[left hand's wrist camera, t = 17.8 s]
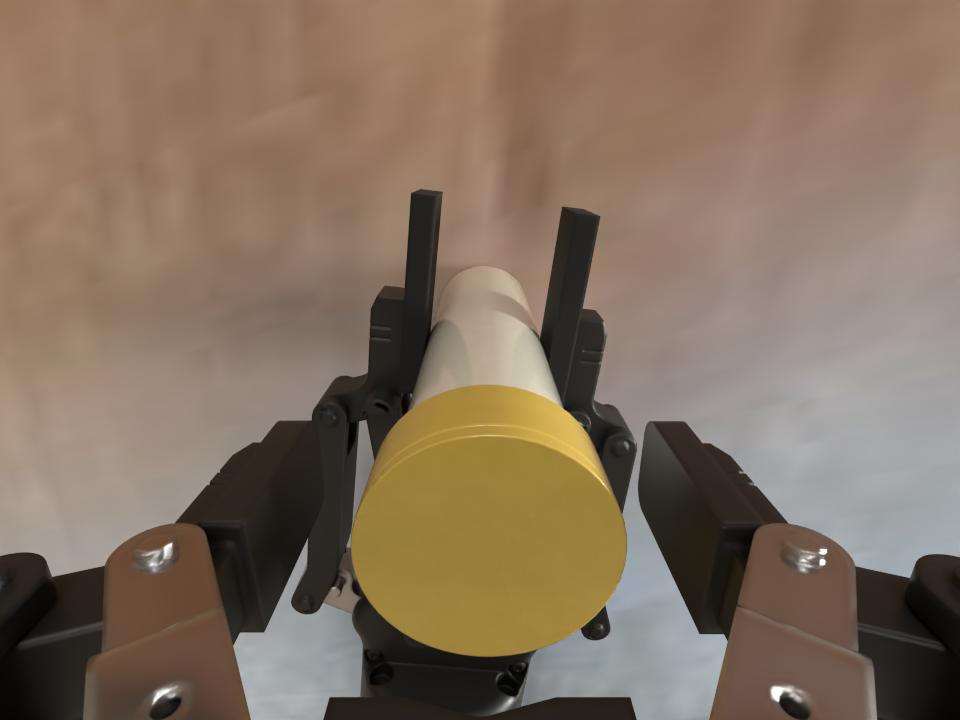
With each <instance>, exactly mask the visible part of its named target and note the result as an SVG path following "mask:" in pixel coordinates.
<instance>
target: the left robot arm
mask: <svg viewBox="0 0 960 720" xmlns="http://www.w3.org/2000/svg"><path fill="white" fill-rule="evenodd" d="M638 495H639V502H640V506H641V509H642V512H643V514H644V516H645V518H646V520H647V523H648V525H649V527H650V529H651V531H652V533H653V535H654V538H655V540H656V542H657V544H658V546H659V548H660V550H661V552H662V555H663V557H664V559H665V561H666V563H667V565H668V567H669V570H670V572H671V574H672V576H673V578H674V580H675V582H676V584H677V587H678V589H679V591H680V593H681V595H682V597H683V599H684V602H685V604H686V606H687V608H688V610H689V612H690V614H691V617H692V619H693V621H694V623H695V625H696V627H697V629H698V631H699V634H724V635H725V637H726V639H727V641H728V644H727V648H726V652H725V656H724V660H723V665H722V669H721V673H720V677H719V681H718V686H717V690H716V694H715V698H714V702H713V706H712V711H711V715H710V719H709V720H960V557H956V556H950V555H942V554H932V555H926V556H923V557H921V558H919V559H918V560H917V562H916V564H915V567H914V569H913V572H912V575H911V577H910V578H907V577H902V576H897V575H893V574H888V573H883V572H878V571H874V570H869V569H864V568H860V567H856V566H855V564H854V562H853V560H852V558H851V557H850V555H849V554H848V553H847V552H846V551H845V550H844V549H843V548H842V547H841V546H840V545H838V544H837V543H836V542H834V541H833V540H831V539H830V538H828V537H826V536H824V535H822V534H820V533H818V532H816V531H814V530H811V529H808V528H805V527H801V526H798V525H793V524H789V523H788V522H787V521H786V520H785V519H784V518H783V516H782V515H781V514H780V513H779V512H778V511H777V509H776V508H775V507H774V506H773V505H772V504H771V503H770V501H769V500H768V499H767V498H766V497H765V496H764V494H763V493H762V492H761V491H760V490H759V489H758V487H757V486H754V483H753V482H752V480H751V479H750V478H749V477H748V476H747V475H746V474H743V470H742V469H741V468H740V466H739V465H738V464H737V463H736V462H735V461H734V460H733V458H732V457H731V456H730V455H728V454H726V453H725V452H723V451H721V450H720V449H718V448H717V447H715V446H713V445H712V444H710V443H702V442H701V441H700V440H699V438H698V437H697V436H696V435H695V433H694V432H693V431H692V430H691V428H690V427H689V426H688V425H687V424H686V423H685V422H683V421H650V422H648V424H647V426H646V429H645V434H644V441H643V449H642V457H641V465H640V473H639V481H638ZM323 499H324V475H323V467H322V459H321V451H320V443H319V435H318V429H317V426H316V423H315V422H314V421H278V422H277V423H276V424H275V425H274V426H273V428H272V429H271V430H270V432H269V433H268V434H267V435H266V437H265V438H264V439H263V440H262V442H261V443H252V444H250V445H248V446H247V447H245V448H244V449H242V450H240V451H239V452H237V453H235V454H234V455H232V457H231V458H230V459H229V460H228V461H227V463H226V464H225V465H224V466H223V467H222V468H221V470H220V473H217V474H216V475H215V477H214V478H213V479H212V480H211V481H210V485H207V486H206V487H205V488H204V490H203V491H202V492H201V493H200V494H199V495H198V497H197V498H196V499H195V500H194V501H193V502H192V504H191V505H190V506H189V507H188V508H187V509H186V511H185V512H184V513H183V514H182V515H181V516H180V518H179V519H178V520H177V521H176V522H175V524H167V525H162V526H159V527H155V528H152V529H149V530H146V531H144V532H142V533H140V534H138V535H136V536H134V537H132V538H130V539H129V540H127V541H126V542H124V543H123V544H122V545H120V546H119V547H118V548H117V549H116V550H115V551H114V552H113V553H112V554H111V555H110V557H109V558H108V560H107V562H106V564H105V566H102V567H98V568H93V569H88V570H83V571H79V572H74V573H69V574H65V575H60V576H55V577H52V576H51V573H50V570H49V568H48V565H47V562H46V560H45V559H44V557H42V556H41V555H39V554H35V553H14V554H8V555H3V556H0V720H251V719H250V715H249V711H248V706H247V702H246V698H245V694H244V690H243V686H242V681H241V677H240V673H239V669H238V665H237V660H236V656H235V652H234V648H233V645H234V643H235V641H236V639H237V637H238V635H239V633H240V632H265V629H266V627H267V625H268V623H269V621H270V619H271V616H272V614H273V612H274V610H275V608H276V606H277V603H278V601H279V599H280V597H281V595H282V593H283V590H284V588H285V586H286V584H287V582H288V580H289V577H290V575H291V573H292V571H293V569H294V567H295V564H296V562H297V560H298V558H299V556H300V554H301V551H302V549H303V547H304V545H305V543H306V541H307V538H308V536H309V534H310V532H311V530H312V528H313V525H314V523H315V521H316V519H317V517H318V515H319V512H320V510H321V507H322V504H323ZM324 720H636V716H635V713H634V709H633V706H632V702H631V698H630V697H556V698H552V699H549V700H545V701H541V702H537V703H534V704H530V705H526V706H522V707H519V708H515V709H511V710H508V711H504V712H500V713H496V714H493V715H489V716H484V717H476V716H471V715H467V714H464V713H460V712H456V711H452V710H449V709H445V708H441V707H438V706H434V705H430V704H426V703H423V702H419V701H415V700H411V699H408V698H404V697H330V698H329V702H328V706H327V709H326V713H325V716H324Z"/></svg>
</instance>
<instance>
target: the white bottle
mask: <svg viewBox="0 0 960 720" xmlns="http://www.w3.org/2000/svg"><path fill="white" fill-rule="evenodd" d="M474 385H503V386H510V387H516V388H519V389H523V390H527V391H530V392H533V393H535V394H538V395H540V396H543V397H545V398H547V399H549V400H550V401H552V402H554V403H556V404H558V405H559V406H560V407H562V408H563V405H562V402H561V399H560V396H559V393H558V390H557V387H556V384H555V382H554V379H553V376H552V373H551V370H550V367H549V364H548V361H547V358H546V355H545V352H544V349H543V346H542V344H541V341H540V338H539V335H538V332H537V329H536V326H535V323H534V320H533V317H532V314H531V311H530V308H529V306H528V303H527V300H526V297H525V294H524V292H523V290H522V288H521V286H520V285H519V283H518V282H517V281H516V280H515V279H514V278H513V277H512V276H511V275H509V274H508V273H506V272H505V271H503V270H500V269H498V268H494V267H488V266H478V267H473V268H469V269H466V270H464V271H462V272H460V273H459V274H457V275H456V276H455V277H453V278H452V279H451V280H450V282H449V283H448V284H447V285H446V287H445V289H444V291H443V293H442V295H441V299H440V302H439V306H438V309H437V312H436V316H435V319H434V323H433V326H432V330H431V333H430V336H429V340H428V343H427V347H426V350H425V354H424V357H423V360H422V364H421V367H420V371H419V374H418V378H417V381H416V384H415V388H414V391H413V395H412V398H411V402H410V405H409V409H408V411H410V410H411V409H413V408H414V407H416V406H417V405H418V404H420V403H421V402H423V401H425V400H427V399H429V398H431V397H433V396H435V395H438V394H440V393H443V392H446V391H449V390H452V389H457V388H461V387H465V386H474ZM563 409H564V408H563Z"/></svg>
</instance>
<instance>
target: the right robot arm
mask: <svg viewBox="0 0 960 720" xmlns="http://www.w3.org/2000/svg"><path fill="white" fill-rule="evenodd" d="M442 193H443V192H439V191H431V190H423V189H420V190H418V191H415V192H413V193H411V204H410V219H409V234H408V249H407V264H406V279H405V288H400V287H391V286H384V288H383V289H382V290H381V291H380V293H379V294H378V295H377V297H376V300H375V302H374V304H373V306H372V308H371V319H370V324H371V325H370V342H369V365H368V373H367V374H365V375H362V376H358V377H353V378H352V377H349V376H340V377H338V378H336V379H335V380H334V381H333V382H332V383H331V385H330V386H329V388H328V389H327V391H326V392H325V394H324V395H323V397H322V398H321V399H320V401H319V402H318V404H317V405H316V407H315V408H314V410H313V414H312V421H314V422H315V423H316V426H317V429H318V435H319V443H320V451H321V459H322V467H323V475H324V499H323V504H322V507H321V510H320V512H319V515H318V517H317V519H316V521H315V523H314V525H313V528H312V530H311V532H310V534H309V536H308V558H307V564H306V567H305V569H304V571H303V574H302V576H301V578H300V581H299V583H298V585H297V588H296V590H295V592H294V594H293V597H292V600H291V604H292V607H293V608H294V609H295V610H296V611H298V612H300V613H303V614H313V613H315V612H317V611H318V610H319V609H320V607H321V605H322V603H326V604H328V605H331V606H334V607H336V608H339V609H341V610H344V611H346V612H349V613H352V621H353V625H354V628H355V630H356V631H357V633H358V634H359V635H360V637H361V639H362V642H363V659H362V679H361V697H404V698H408V699H411V700H415V701H419V702H423V703H426V704H430V705H434V706H438V707H441V708H445V709H449V710H452V711H456V712H460V713H464V714H467V715H471V716H476V717H484V716H489V715H493V714H496V713H500V712H504V711H508V710H511V709H515V708H519V707H521V702H522V697H523V693H524V688H525V683H526V678H527V673H528V668H529V663H530V659H531V657H532V655H533V654H534V653H535V652H536V651H537V650H538V649H537V650H533V651H530V652H526V653H520V654H515V655H508V656H496V657H478V656H469V655H461V654H456V653H451V652H446V651H443V650H440V649H436V648H433V647H430V646H428V645H425V644H423V643H421V642H419V641H416V640H414V639H413V638H411V637H409V636H407V635H406V634H404V633H402V632H401V631H399V630H398V629H397V628H395V627H394V626H392V625H391V624H390V623H389V622H388V621H387V620H385V619H384V618H383V617H382V616H381V615H380V614H379V613H378V612H377V611H376V609H375V608H374V607H373V606H372V604H371V603H370V602H369V601H368V599H367V597H366V596H365V594H364V592H363V591H362V589H361V587H360V584H359V582H358V580H357V577H356V575H355V571H354V567H353V563H352V556H351V548H347V547H346V546H347V543H348V540H349V537H350V533H351V528H352V519H353V504H354V489H355V475H356V460H357V445H358V431H359V421H362V420H367V425H368V430H369V435H370V440H371V445H372V450H373V455H374V460H375V459H376V457H377V454H378V452H379V449H380V447H381V445H382V443H383V441H384V439H385V438H386V436H387V434H388V433H389V431H390V430H391V429H392V428H393V427H394V425H395V424H396V423H397V422H398V421H399V420H400V419H401V418H402V417H403V416H404V415H405V414H406V413H407V412H408V409H409V405H410V402H411V397H410V394H413V391H414V388H415V384H416V381H417V378H418V374H419V371H420V367H421V364H422V360H423V357H424V354H425V350H426V347H427V343H428V340H429V336H430V330H431V319H432V307H433V296H434V284H435V273H436V261H437V250H438V239H439V227H440V216H441V204H442ZM599 220H600V216H598V215H596V214H593V213H591V212H589V211H586V210H584V209H578V208H569V207H562V211H561V217H560V223H559V229H558V235H557V241H556V247H555V253H554V259H553V265H552V271H551V277H550V283H549V289H548V295H547V301H546V307H545V313H544V319H543V324H542V330H541V336H540V341H541V344H542V346H543V349H544V352H545V355H546V358H547V361H548V364H549V367H550V370H551V373H552V376H553V379H554V382H555V384H556V387H557V390H558V393H559V396H560V399H561V402H562V405H563V408H564V410H566V411H567V412H568V413H570V414H571V415H572V416H573V417H574V418H575V419H576V420H577V421H578V422H579V423H580V425H581V426H582V427H583V429H584V430H585V431H586V432H587V434H588V435H589V437H590V439H591V441H592V443H593V444H594V446H595V448H596V451H597V453H598V456H599V458H600V461H601V463H602V466H603V468H604V471H605V473H606V476H607V478H608V480H609V483H610V485H611V488H612V490H613V493H614V496H615V498H616V500H617V503H618V505H619V508H620V511H621V513H623V509H624V504H625V500H626V495H627V491H628V487H629V482H630V478H631V474H632V469H633V465H634V460H635V456H636V452H637V443H636V441H635V439H634V437H633V435H632V433H631V432H630V430H629V428H628V426H627V424H626V423H625V421H624V419H623V417H622V416H621V414H620V412H619V411H618V409H617V408H616V407H614V406H613V405H609V404H605V405H602V404H600V403H598V402H596V401H594V394H595V390H596V385H597V380H598V376H599V371H600V366H601V362H602V357H603V351H604V348H605V343H606V338H607V333H606V328H605V323H604V320H603V319H602V318H601V317H600V315H599V314H598V313H597V312H596V310H589V309H582V308H583V303H584V298H585V293H586V287H587V282H588V277H589V272H590V267H591V262H592V257H593V251H594V246H595V241H596V236H597V231H598V226H599ZM581 631H582V634H583V635H584V637H586V638H587V639H590V640H600V639H603V638H605V637H606V636H607V635H608V634H609V632H610V624H609V619H608V615H607V611H606V606H604V607H603V608H602V609H601V610H600V611H599V612H598V614H597V615H596V616H595V617H594V618H592V619H591V620H590V621H589V622H588V623H587V624H586V625H584V626H583V627H582V628H581Z"/></svg>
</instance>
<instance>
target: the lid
mask: <svg viewBox="0 0 960 720" xmlns="http://www.w3.org/2000/svg"><path fill="white" fill-rule="evenodd" d="M626 553H627V534H626V528H625V523H624V519H623V516H622V513H621V511H620V508H619V505H618V503H617V500H616V498H615V496H614V493H613V490H612V488H611V485H610V483H609V480H608V478H607V476H606V473H605V471H604V468H603V466H602V463H601V461H600V458H599V456H598V453H597V451H596V448H595V446H594V444H593V443H592V441H591V439H590V437H589V435H588V434H587V432H586V431H585V430H584V429H583V427H582V426H581V425H580V423H579V422H578V421H577V420H576V419H575V418H574V417H573V416H572V415H571V414H570V413H568V412H567V411H566V410H564V409H563V408H562V407H560V406H559V405H558V404H556V403H554V402H552V401H550V400H549V399H547V398H545V397H543V396H540V395H538V394H535V393H533V392H530V391H527V390H523V389H519V388H516V387H510V386H503V385H474V386H465V387H461V388H457V389H452V390H449V391H446V392H443V393H440V394H438V395H435V396H433V397H431V398H429V399H427V400H425V401H423V402H421V403H420V404H418V405H417V406H416V407H414V408H413V409H411V410H410V411H408V412H407V413H406V414H405V415H404V416H403V417H402V418H401V419H400V420H399V421H398V422H397V423H396V424H395V425H394V427H393V428H392V429H391V430H390V431H389V433H388V434H387V436H386V438H385V439H384V441H383V443H382V445H381V447H380V449H379V452H378V454H377V457H376V459H375V462H374V465H373V468H372V471H371V474H370V476H369V479H368V482H367V485H366V488H365V491H364V493H363V496H362V499H361V502H360V505H359V508H358V510H357V513H356V516H355V520H354V524H353V528H352V534H351V556H352V563H353V567H354V571H355V575H356V577H357V580H358V582H359V584H360V587H361V589H362V591H363V592H364V594H365V596H366V597H367V599H368V601H369V602H370V603H371V604H372V606H373V607H374V608H375V609H376V611H377V612H378V613H379V614H380V615H381V616H382V617H383V618H384V619H385V620H387V621H388V622H389V623H390V624H391V625H392V626H394V627H395V628H397V629H398V630H399V631H401V632H402V633H404V634H406V635H407V636H409V637H411V638H413V639H414V640H416V641H419V642H421V643H423V644H425V645H428V646H430V647H433V648H436V649H440V650H443V651H446V652H451V653H456V654H461V655H469V656H478V657H496V656H508V655H515V654H520V653H526V652H530V651H533V650H537V649H540V648H543V647H546V646H548V645H551V644H553V643H556V642H558V641H560V640H562V639H564V638H566V637H567V636H569V635H571V634H573V633H574V632H576V631H577V630H579V629H580V628H582V627H583V626H584V625H586V624H587V623H588V622H589V621H590V620H591V619H592V618H594V617H595V616H596V615H597V614H598V612H599V611H600V610H601V609H602V608H603V607H604V606H605V605H606V603H607V602H608V600H609V599H610V597H611V596H612V594H613V593H614V591H615V589H616V587H617V585H618V583H619V581H620V579H621V575H622V572H623V569H624V566H625V560H626Z"/></svg>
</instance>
